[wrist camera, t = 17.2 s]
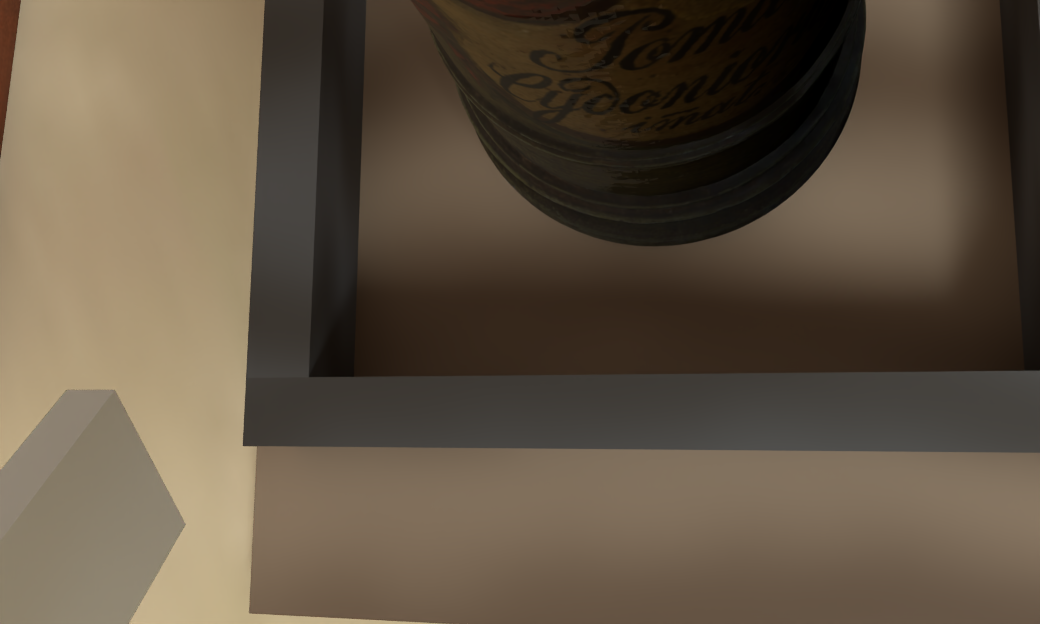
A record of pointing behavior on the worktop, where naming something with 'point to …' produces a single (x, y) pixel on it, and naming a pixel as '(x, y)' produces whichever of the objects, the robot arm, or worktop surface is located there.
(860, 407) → the holder
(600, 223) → the container
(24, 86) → the worktop surface
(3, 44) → the picture frame
